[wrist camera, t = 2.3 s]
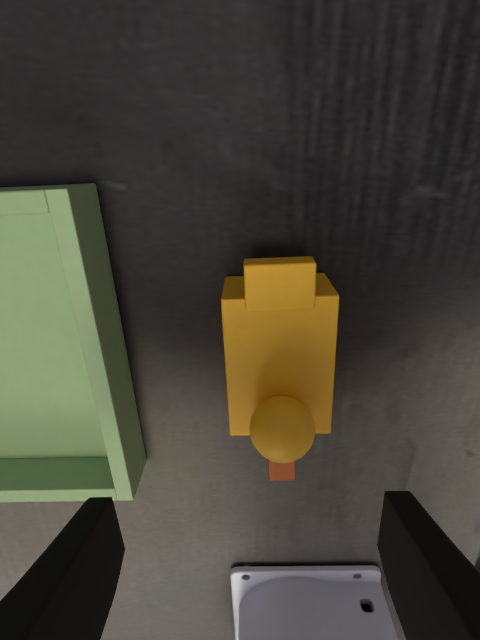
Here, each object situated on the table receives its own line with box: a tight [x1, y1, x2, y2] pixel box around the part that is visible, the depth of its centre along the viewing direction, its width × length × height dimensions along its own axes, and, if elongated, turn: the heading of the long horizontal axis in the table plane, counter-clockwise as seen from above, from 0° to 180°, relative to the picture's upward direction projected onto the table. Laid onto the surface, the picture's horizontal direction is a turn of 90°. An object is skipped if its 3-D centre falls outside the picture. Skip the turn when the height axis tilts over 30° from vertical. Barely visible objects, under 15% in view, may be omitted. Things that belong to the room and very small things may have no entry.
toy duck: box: [221, 256, 339, 481], centre depth 16 cm, size 9×4×5 cm, turn 2°
